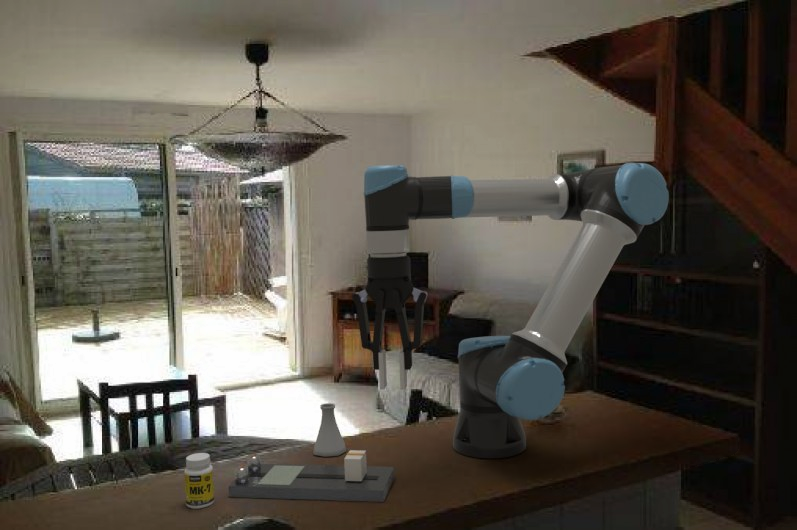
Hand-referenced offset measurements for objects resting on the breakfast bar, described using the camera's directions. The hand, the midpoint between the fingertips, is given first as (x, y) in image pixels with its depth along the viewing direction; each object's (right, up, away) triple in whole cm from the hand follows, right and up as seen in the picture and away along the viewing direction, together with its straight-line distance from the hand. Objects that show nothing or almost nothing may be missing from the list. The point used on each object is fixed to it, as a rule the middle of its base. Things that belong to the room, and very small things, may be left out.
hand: (393, 387), depth 121 cm
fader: (-7, -16, +2) cm, 18 cm away
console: (-15, -19, +4) cm, 24 cm away
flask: (-14, -18, +22) cm, 32 cm away
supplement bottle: (-34, -20, -1) cm, 39 cm away
